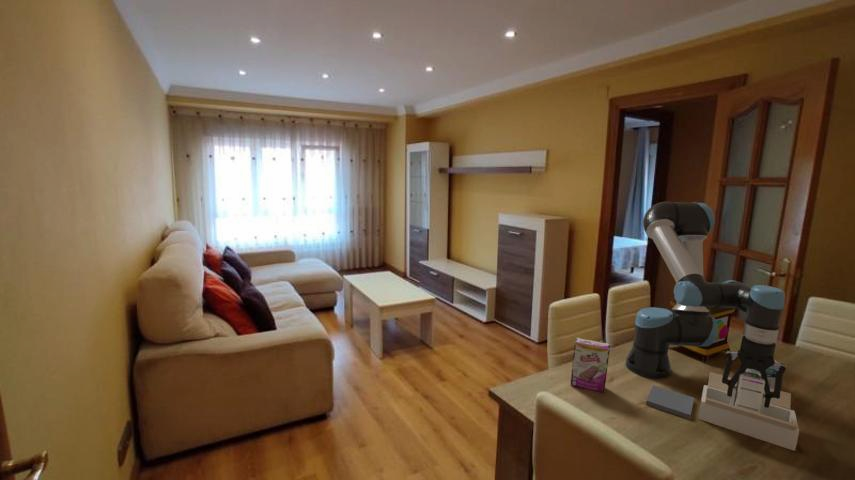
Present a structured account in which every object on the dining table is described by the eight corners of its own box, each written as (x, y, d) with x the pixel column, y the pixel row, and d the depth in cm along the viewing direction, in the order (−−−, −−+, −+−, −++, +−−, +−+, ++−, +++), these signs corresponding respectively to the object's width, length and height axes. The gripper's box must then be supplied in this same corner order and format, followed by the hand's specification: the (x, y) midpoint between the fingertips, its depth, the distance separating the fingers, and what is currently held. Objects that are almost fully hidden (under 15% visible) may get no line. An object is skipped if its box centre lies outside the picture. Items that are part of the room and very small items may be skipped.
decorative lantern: (657, 345, 172) (666, 279, 167) (685, 337, 181) (694, 274, 176) (707, 366, 154) (718, 292, 149) (734, 356, 163) (746, 286, 158)
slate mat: (645, 404, 128) (646, 400, 128) (652, 389, 137) (652, 385, 137) (689, 419, 121) (690, 415, 121) (693, 401, 130) (694, 397, 130)
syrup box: (757, 426, 115) (767, 381, 113) (732, 419, 118) (741, 375, 116) (754, 416, 120) (763, 372, 117) (730, 409, 123) (738, 367, 120)
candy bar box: (570, 386, 138) (574, 342, 135) (571, 379, 143) (575, 336, 140) (605, 394, 134) (610, 349, 131) (605, 387, 138) (610, 343, 135)
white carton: (697, 425, 118) (701, 396, 116) (702, 396, 134) (706, 370, 132) (796, 459, 105) (803, 427, 103) (789, 422, 120) (795, 394, 119)
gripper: (718, 334, 117) (706, 404, 122) (805, 353, 106) (788, 430, 110) (719, 326, 123) (707, 393, 127) (802, 344, 111) (786, 417, 116)
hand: (745, 410), depth 119 cm, fingers closed on syrup box, 6 cm apart
